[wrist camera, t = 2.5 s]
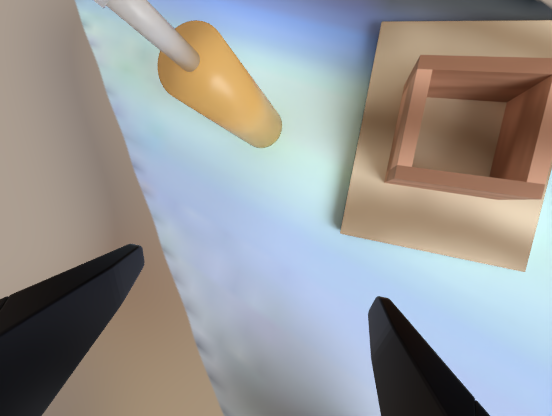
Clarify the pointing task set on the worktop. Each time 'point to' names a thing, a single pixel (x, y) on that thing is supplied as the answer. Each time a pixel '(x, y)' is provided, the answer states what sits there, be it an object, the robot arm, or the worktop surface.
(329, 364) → the worktop surface
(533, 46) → the beige board with box
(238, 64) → the orange tapered piece
